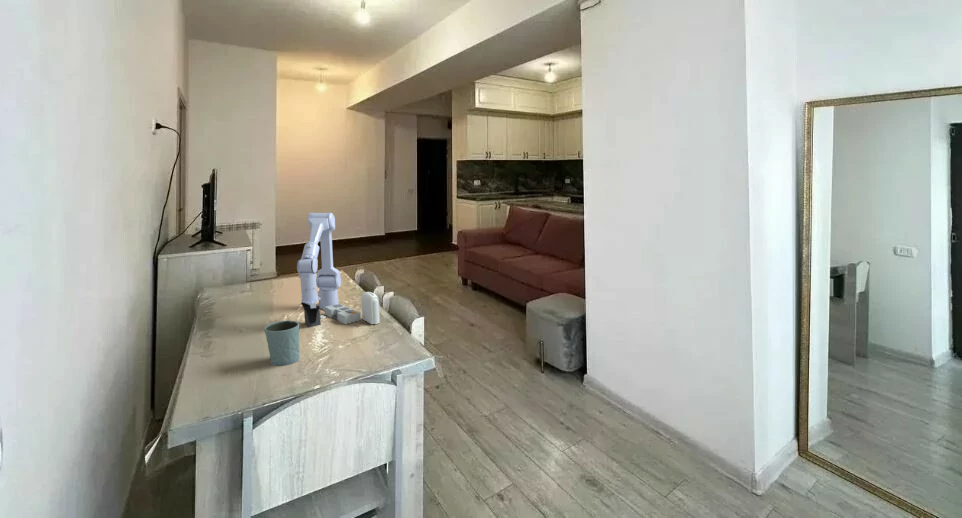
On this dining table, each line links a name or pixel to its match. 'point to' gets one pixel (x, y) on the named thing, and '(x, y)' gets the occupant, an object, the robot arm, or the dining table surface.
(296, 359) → the grey-green cup
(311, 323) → the charger
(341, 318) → the power strip
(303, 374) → the dining table surface
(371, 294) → the photo printer
